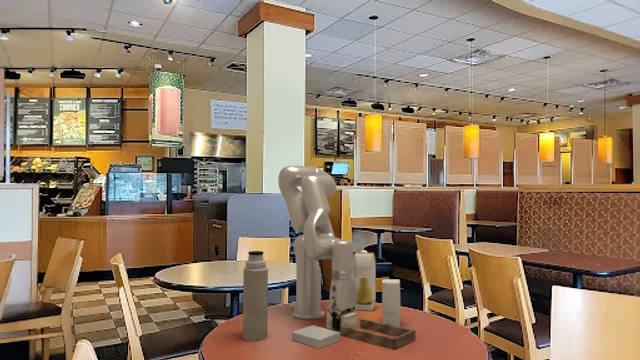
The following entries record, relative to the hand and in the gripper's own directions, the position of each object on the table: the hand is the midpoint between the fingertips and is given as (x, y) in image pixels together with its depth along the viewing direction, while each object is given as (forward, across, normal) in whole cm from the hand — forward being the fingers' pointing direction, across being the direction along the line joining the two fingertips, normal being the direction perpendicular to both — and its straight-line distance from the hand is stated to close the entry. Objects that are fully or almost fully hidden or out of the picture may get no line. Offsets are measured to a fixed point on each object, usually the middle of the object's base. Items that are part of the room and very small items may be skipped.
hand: (342, 326), depth 155 cm
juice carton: (+1, +28, +10) cm, 29 cm away
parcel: (+1, 0, 0) cm, 1 cm away
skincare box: (+1, +16, -9) cm, 19 cm away
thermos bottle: (+1, -26, +16) cm, 31 cm away
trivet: (+1, -16, -1) cm, 16 cm away
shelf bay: (+1, 0, -14) cm, 14 cm away
